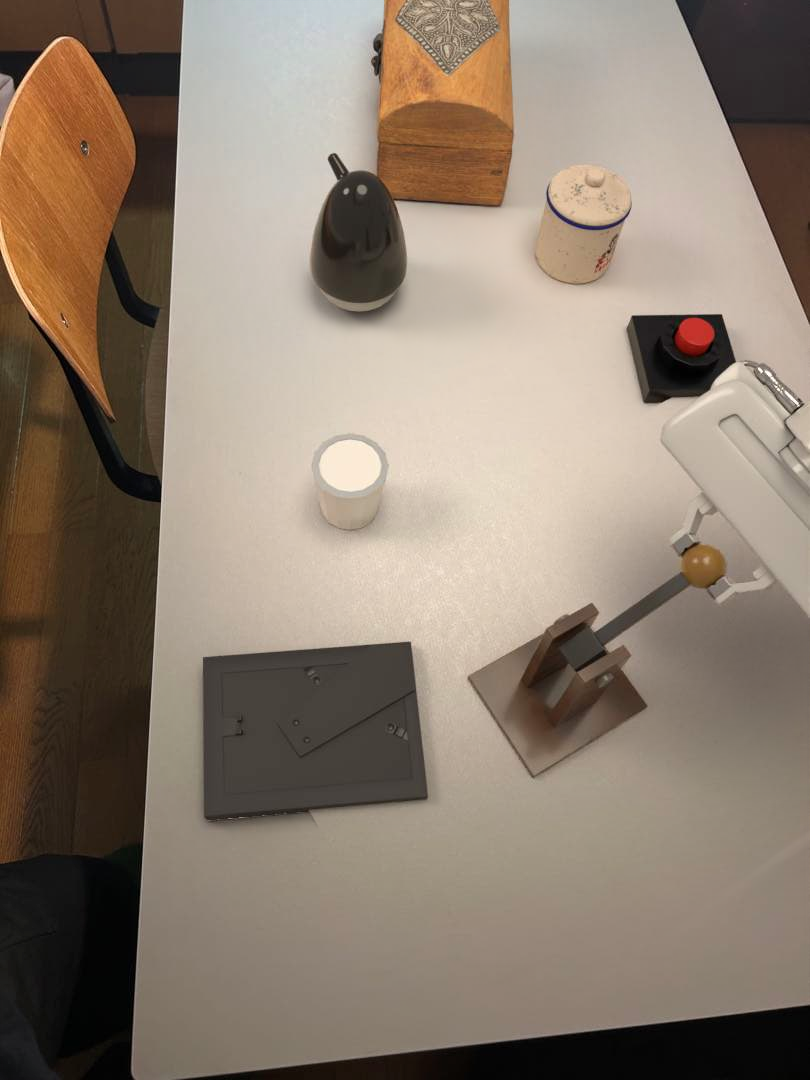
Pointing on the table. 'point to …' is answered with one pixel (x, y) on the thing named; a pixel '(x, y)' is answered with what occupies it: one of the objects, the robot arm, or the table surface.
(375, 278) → the pump dispenser
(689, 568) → the rod
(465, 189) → the wooden box
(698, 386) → the button box
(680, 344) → the button
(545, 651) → the bracket
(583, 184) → the teacup with lid
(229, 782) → the picture frame
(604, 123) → the table surface
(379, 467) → the white cylinder
